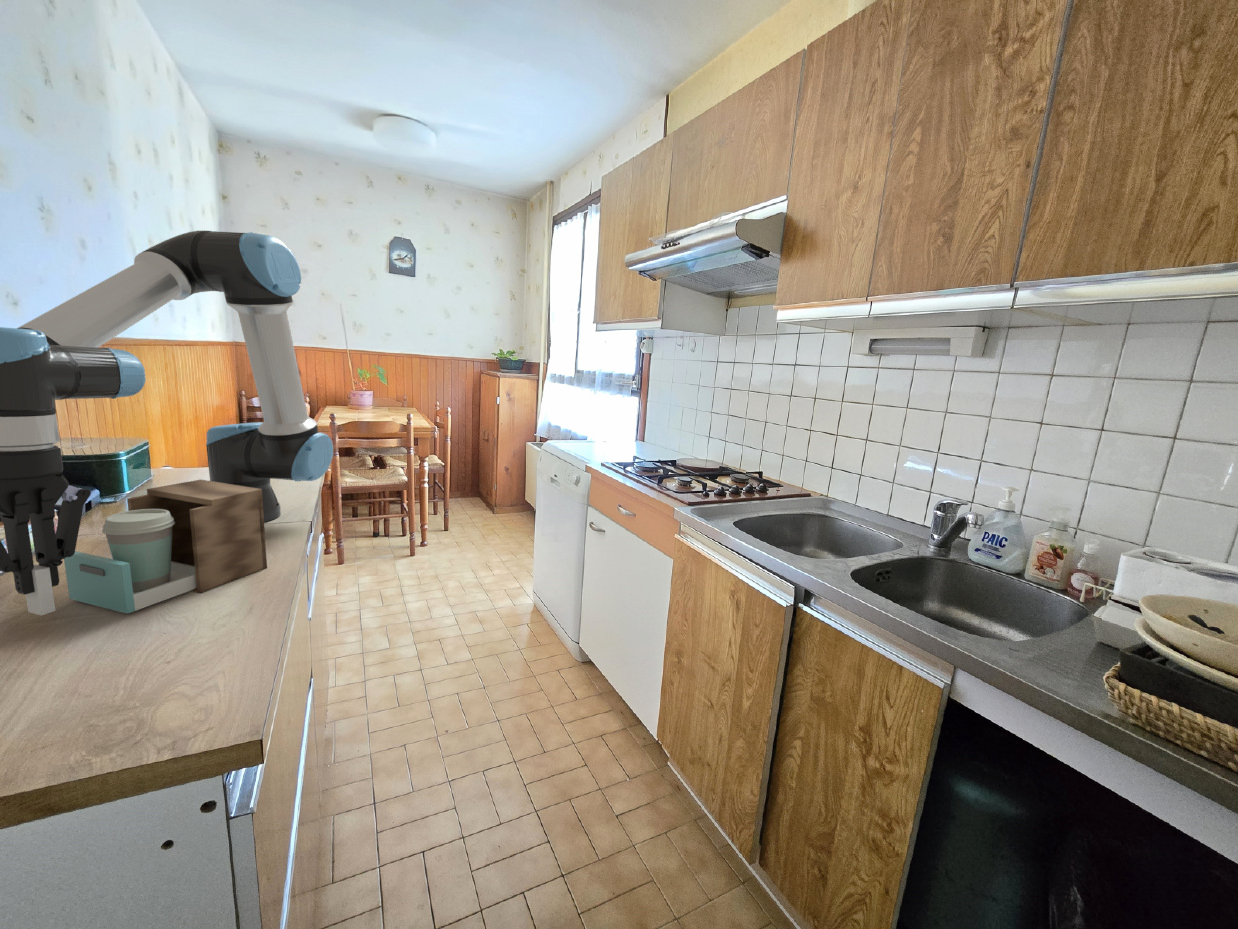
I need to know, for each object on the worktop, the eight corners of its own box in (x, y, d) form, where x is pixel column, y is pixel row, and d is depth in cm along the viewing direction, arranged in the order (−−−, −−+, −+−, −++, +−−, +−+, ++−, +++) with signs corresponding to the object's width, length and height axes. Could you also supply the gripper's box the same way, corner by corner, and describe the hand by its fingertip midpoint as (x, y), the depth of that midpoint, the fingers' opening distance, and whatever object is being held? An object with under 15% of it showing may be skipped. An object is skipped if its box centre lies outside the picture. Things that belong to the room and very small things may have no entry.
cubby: (207, 555, 100) (200, 479, 97) (267, 568, 96) (261, 489, 93) (136, 578, 88) (126, 492, 85) (200, 593, 84) (192, 504, 82)
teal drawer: (158, 570, 90) (153, 529, 89) (211, 582, 87) (207, 540, 86) (67, 599, 79) (60, 552, 77) (125, 614, 75) (119, 566, 74)
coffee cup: (193, 578, 86) (187, 511, 84) (138, 599, 78) (129, 525, 76) (153, 571, 88) (146, 505, 86) (94, 591, 80) (85, 519, 77)
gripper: (63, 438, 74) (82, 589, 78) (-77, 449, 62) (-46, 627, 66) (99, 443, 72) (116, 597, 76) (-38, 455, 60) (-8, 638, 64)
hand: (41, 611), depth 71 cm, fingers closed
